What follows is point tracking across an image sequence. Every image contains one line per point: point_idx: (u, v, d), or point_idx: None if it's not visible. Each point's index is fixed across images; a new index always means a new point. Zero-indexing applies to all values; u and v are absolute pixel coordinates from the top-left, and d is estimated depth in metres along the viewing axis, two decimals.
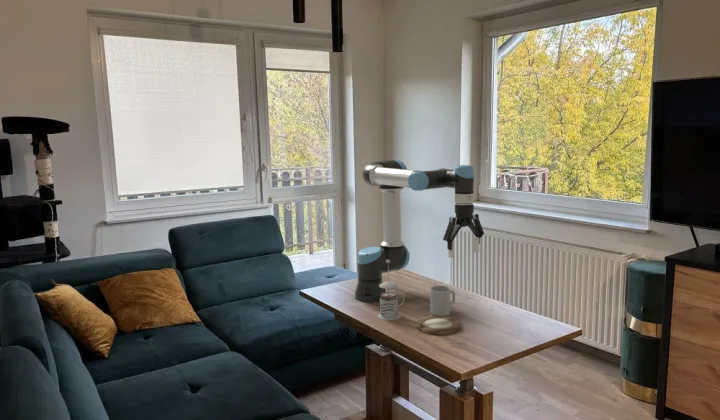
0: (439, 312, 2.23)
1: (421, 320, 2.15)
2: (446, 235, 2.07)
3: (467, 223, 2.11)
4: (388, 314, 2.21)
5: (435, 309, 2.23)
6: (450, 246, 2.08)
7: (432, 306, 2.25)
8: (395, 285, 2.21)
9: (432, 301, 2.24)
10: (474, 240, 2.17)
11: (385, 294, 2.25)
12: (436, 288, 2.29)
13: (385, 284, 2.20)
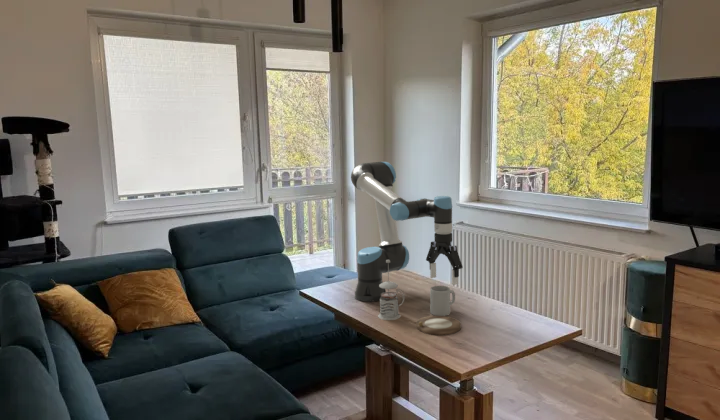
0: (439, 312, 2.23)
1: (421, 320, 2.15)
2: None
3: (442, 251, 2.22)
4: (388, 314, 2.21)
5: (435, 309, 2.23)
6: (430, 266, 2.31)
7: (432, 306, 2.25)
8: (395, 285, 2.21)
9: (432, 301, 2.24)
10: None
11: (385, 294, 2.25)
12: (436, 288, 2.29)
13: (385, 284, 2.20)
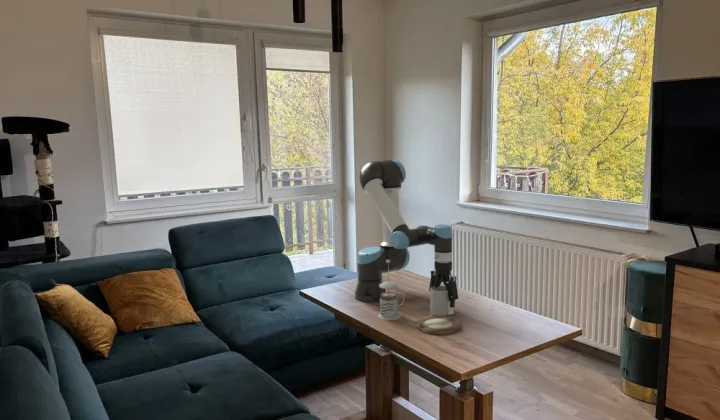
0: (439, 312, 2.23)
1: (421, 320, 2.15)
2: None
3: (442, 279, 2.24)
4: (388, 314, 2.21)
5: (435, 309, 2.23)
6: None
7: (432, 306, 2.24)
8: (395, 285, 2.21)
9: (432, 301, 2.24)
10: None
11: (385, 294, 2.25)
12: (436, 288, 2.29)
13: (385, 284, 2.20)
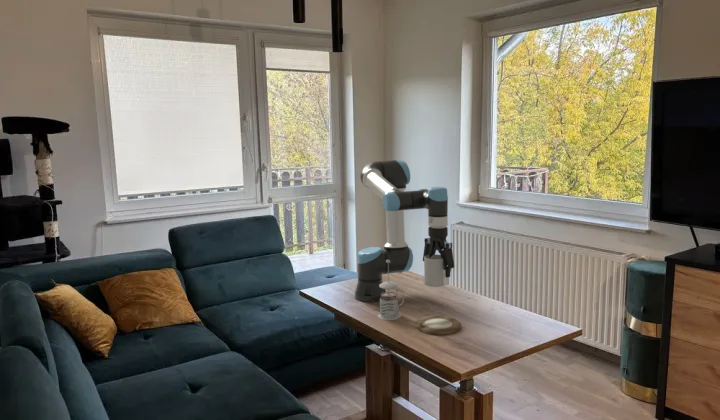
0: (434, 282, 2.04)
1: (421, 320, 2.15)
2: None
3: None
4: (388, 314, 2.21)
5: (429, 279, 2.04)
6: None
7: (426, 276, 2.05)
8: (395, 285, 2.21)
9: (426, 270, 2.05)
10: None
11: (385, 294, 2.25)
12: (431, 257, 2.10)
13: (385, 284, 2.20)
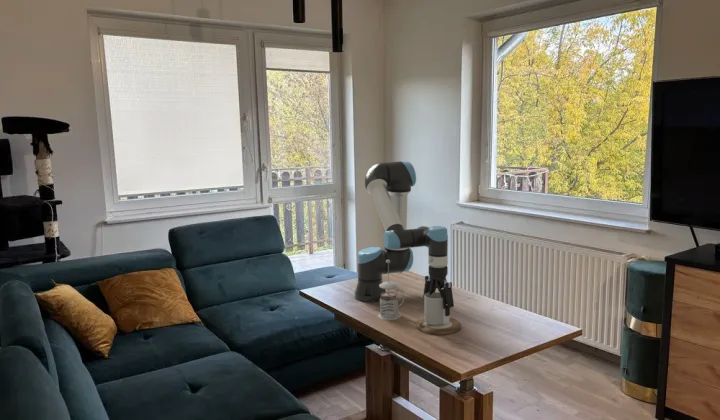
0: (433, 321, 2.06)
1: (421, 320, 2.15)
2: None
3: None
4: (388, 314, 2.21)
5: (429, 317, 2.07)
6: None
7: (426, 314, 2.08)
8: (395, 285, 2.21)
9: (426, 309, 2.08)
10: None
11: (385, 294, 2.25)
12: (431, 295, 2.13)
13: (385, 284, 2.20)
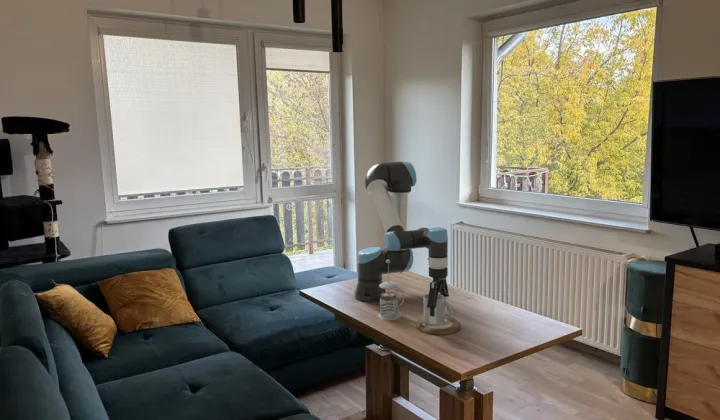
0: (424, 320, 2.11)
1: (421, 320, 2.15)
2: None
3: None
4: (388, 314, 2.21)
5: None
6: None
7: None
8: (395, 285, 2.21)
9: None
10: None
11: (385, 294, 2.25)
12: (439, 297, 2.13)
13: (385, 284, 2.20)
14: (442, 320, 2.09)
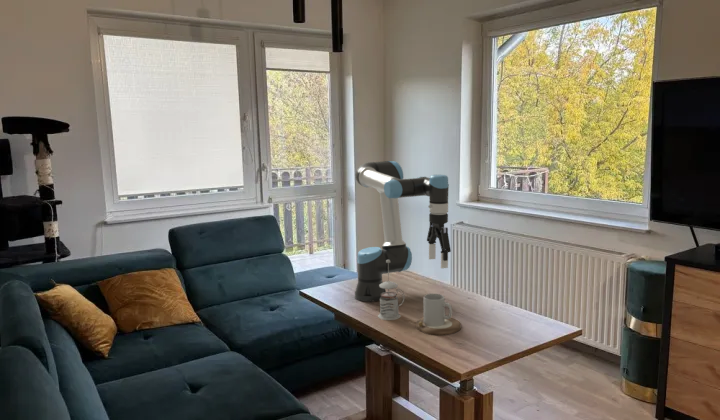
0: (424, 320, 2.11)
1: (421, 320, 2.15)
2: None
3: None
4: (388, 314, 2.21)
5: None
6: None
7: None
8: (395, 285, 2.21)
9: None
10: None
11: (385, 294, 2.25)
12: (439, 297, 2.13)
13: (385, 284, 2.20)
14: (442, 320, 2.09)
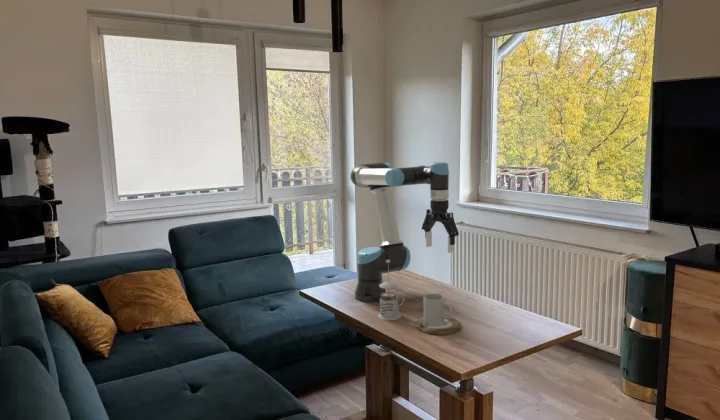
0: (424, 320, 2.11)
1: (421, 320, 2.15)
2: None
3: (438, 219, 2.18)
4: (388, 314, 2.21)
5: None
6: (426, 235, 2.26)
7: None
8: (395, 285, 2.21)
9: None
10: None
11: (385, 294, 2.25)
12: (439, 297, 2.13)
13: (385, 284, 2.20)
14: (442, 320, 2.09)
